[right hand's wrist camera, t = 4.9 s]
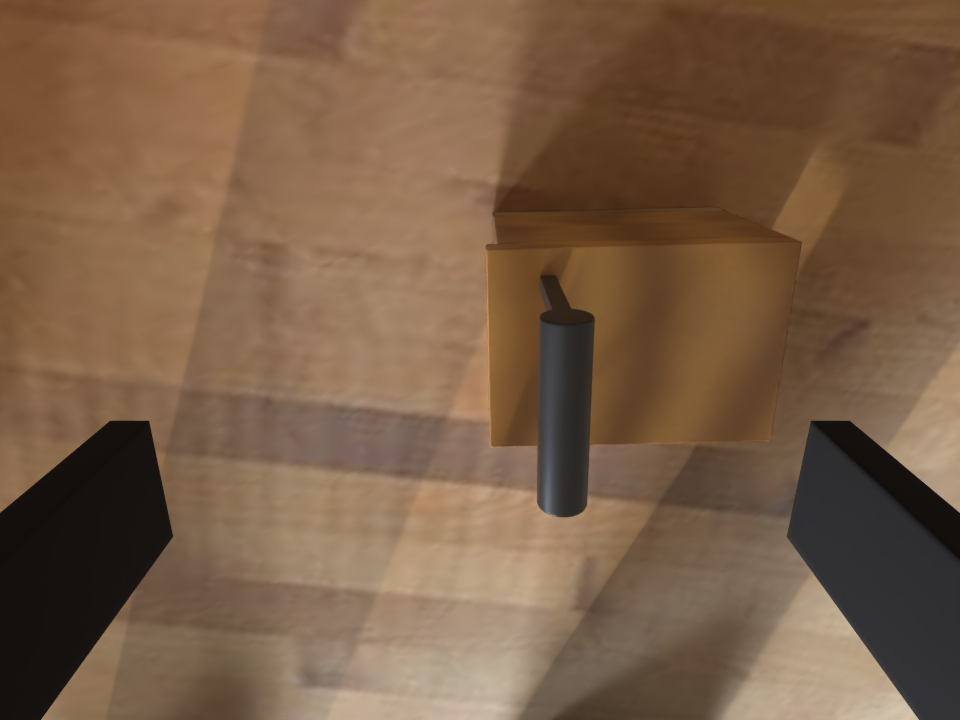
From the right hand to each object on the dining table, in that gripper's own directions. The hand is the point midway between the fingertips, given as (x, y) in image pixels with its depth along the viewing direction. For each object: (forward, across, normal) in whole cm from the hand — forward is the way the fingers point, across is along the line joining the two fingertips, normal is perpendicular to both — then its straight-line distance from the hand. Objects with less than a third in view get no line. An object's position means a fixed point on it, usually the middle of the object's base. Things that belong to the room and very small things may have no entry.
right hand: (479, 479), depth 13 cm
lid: (+17, -7, +3) cm, 18 cm away
